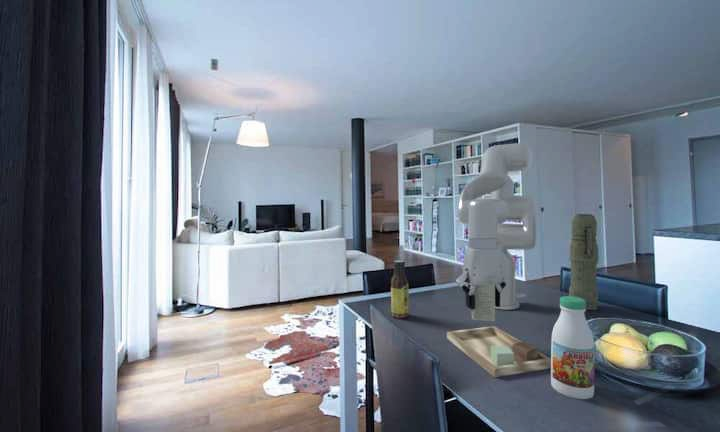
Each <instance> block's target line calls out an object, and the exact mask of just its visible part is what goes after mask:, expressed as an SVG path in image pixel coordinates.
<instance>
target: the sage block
mask: <svg viewBox="0 0 720 432" xmlns="http://www.w3.org/2000/svg"><path fill="white" fill-rule="evenodd" d="M491 363H492V364H493V365H495V366H502V365H508V364H514V353H513V352H512V351H511V350H510V349H509V348H508V346H491Z"/></svg>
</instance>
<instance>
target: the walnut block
mask: <svg viewBox="0 0 720 432" xmlns="http://www.w3.org/2000/svg"><path fill="white" fill-rule="evenodd" d="M538 349H539V347H536V346H534V345H531V344H530V343H528V342H525V341H521V343H517V344H513V345H512V352H513V353H514V361H515V362H517V363H520V362H527V361H533V360H538V351H539V350H538Z"/></svg>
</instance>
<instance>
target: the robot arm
mask: <svg viewBox="0 0 720 432" xmlns="http://www.w3.org/2000/svg"><path fill="white" fill-rule="evenodd" d="M533 158H534V157H533V151H532V149H531V148H530V146H529V145H528V144H526V143H522V142H518V143H517V142H516V143H507V144H497V145H492V146H490V147H488V148H486V150H485V151H484V153H483V154H482V155H481V166H480V172H479V175H478V176H477V177H475V178H474V179H472V180H471V181H470V182H468V183H467V184H466V185H465V186H464V187H463V189H462V190H461V193H460V197H459V200H458V205H457V212H456V213H457V217H458V220H459V221H460V222H461V223H462V224H465V225H466V224H467V225H468V248H466V249H465V252H464V255H463V256H464V257H463V263H462V274H461V275H460V276H458V278H456V279H455V283H456V284H457V285H458V287H459V288H460V289H461V291H463V292H464V293H465V305H466V307H467V308H468V309H470V310H471V311H472V310H474V309H475V296H474V295H473V292H474V290H475V288H476V286H482V285H485V282H486V278H489V277H495V310H496V309H497V310H504V311H505V310H506V311H509V310H510V311H511V310H517V309H519V308H520V302H519V300H525V299H526V297H527V296H526V294H525V293H522V294H521V293H519V294H518V293H517V292H516V261H515V257H514V256H513V255H512V254H511V252H510V251H508V250H523V251H530V250H533V249H535V248H536V245H537V204H536V200H535V198H533V196H530V195H515V182H514V181H513V179H512V178H511V176H510V175H509V174H508V173H509V172H522V171H523V172H524V171H528V170H529V169H531V167H532V165H533V162H534V161H533V160H534V159H533ZM485 195H489V198H487V199H486V198H480V197H483V196H485ZM506 221H508V222H509V221H511V222H512V221H514V222H519V221H520V222H522V224H521V223H520V224H518V223H517V224H515V223H514V224H513V223H505V222H506ZM465 283H466V284H465Z"/></svg>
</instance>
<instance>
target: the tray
mask: <svg viewBox="0 0 720 432" xmlns="http://www.w3.org/2000/svg"><path fill="white" fill-rule="evenodd" d="M446 339H447V340H448V341H450V342H451V343H452V344H453V345H454V346H455V347H457V348H458V349H460V350H461V351H462V352H463V353H464V354H466V356H468V357H469V358H470V359H472V360H473V361H474V362H475V363H476V364H478V366H480V367H482V369H484V370H485V371H486V372H487V373H489V374H490V375H491V376H492V377H493V378H499V377H505V376H511V375H517V374H523V373H529V372H530V373H531V372H535V371H541V370H546V369H547V370H548V369H551V357H549V356H547V355H546V354H544V353H542V352H541V351H539V350H538V360H533V361H527V362H520V363H517V362H515V361H514V364H508V365H502V366H495V365H493V364H492V363H491V346H508V348H509V349H510V350H511V351H512V345H513V344H517V343H521V342H522V341H521V340H519V339H518V338H516V337H515V336H512V335H511V334H509V333H507V332H505V331H504V330H502V329H500V328H499V327H497V326H496V325H493V326H492V325H491V326H490V325H489V326H484V327H477V328H476V327H475V328H468V329H467V328H466V329H459V330H452V331H451V330H450V331H446Z"/></svg>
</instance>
